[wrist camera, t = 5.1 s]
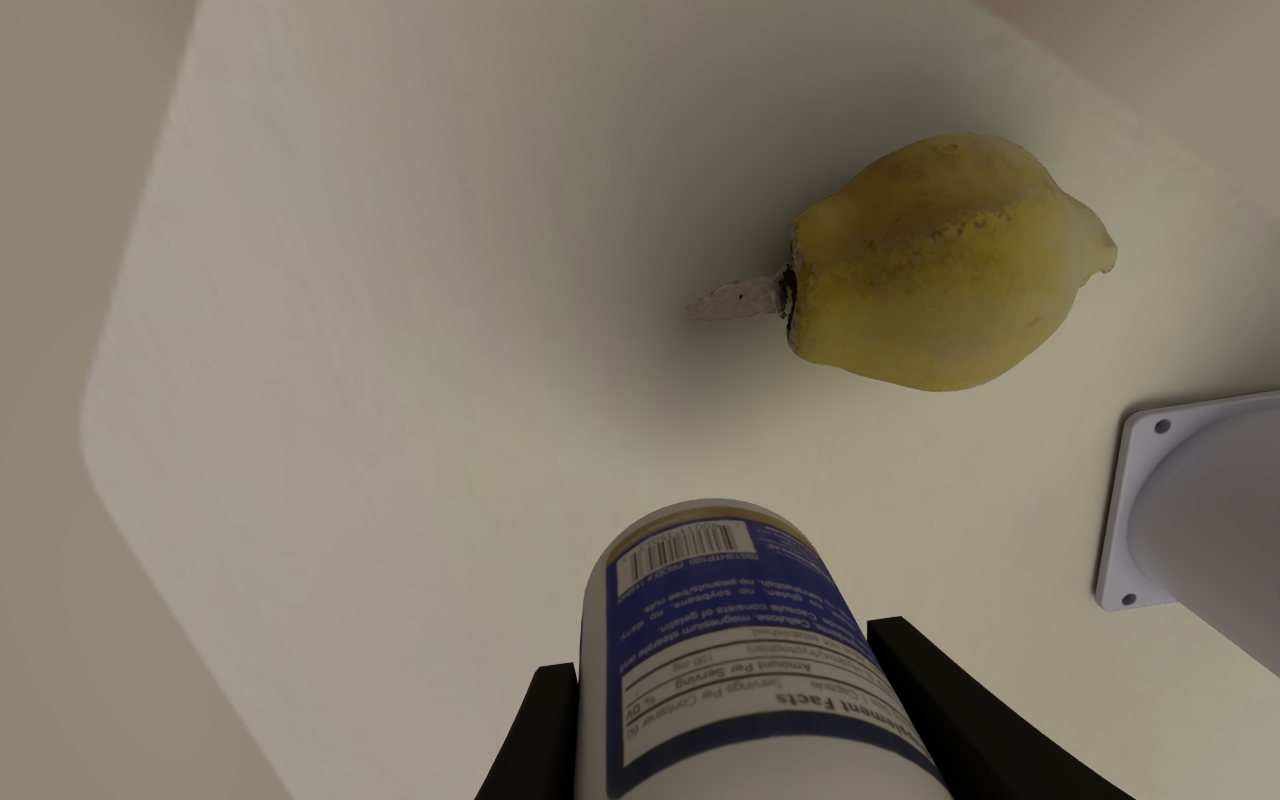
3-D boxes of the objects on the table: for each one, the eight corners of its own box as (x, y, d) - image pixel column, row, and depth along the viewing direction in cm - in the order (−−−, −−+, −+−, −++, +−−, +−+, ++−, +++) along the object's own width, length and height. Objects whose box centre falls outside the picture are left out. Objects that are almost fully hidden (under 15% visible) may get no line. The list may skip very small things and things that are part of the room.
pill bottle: (765, 707, 14) (975, 1436, 6) (554, 659, 14) (467, 1429, 5) (866, 527, 13) (1348, 1205, 4) (630, 458, 12) (678, 1135, 4)
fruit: (655, 200, 17) (1042, 63, 15) (712, 363, 20) (1028, 272, 18) (663, 310, 12) (1221, 136, 10) (734, 493, 16) (1156, 392, 14)
